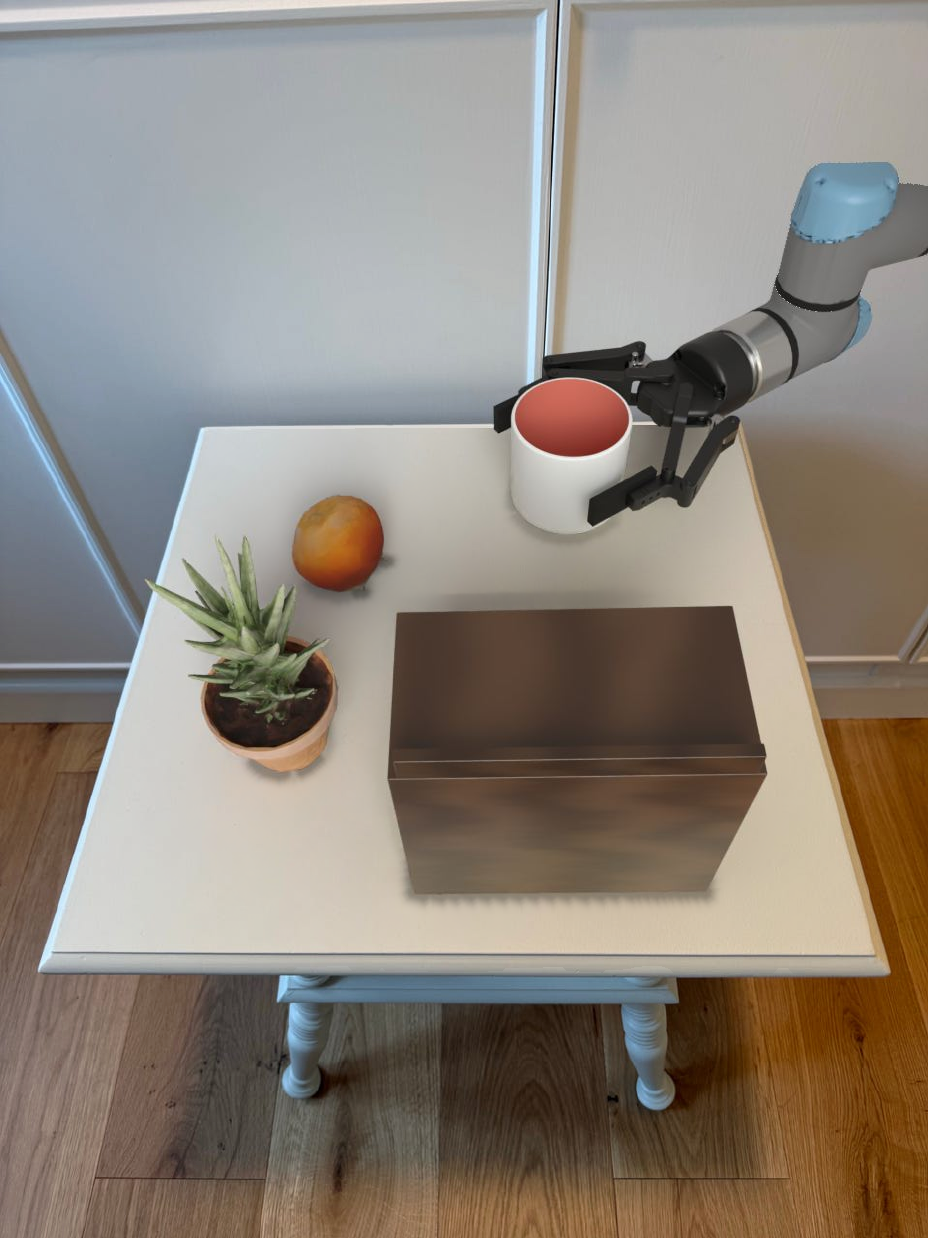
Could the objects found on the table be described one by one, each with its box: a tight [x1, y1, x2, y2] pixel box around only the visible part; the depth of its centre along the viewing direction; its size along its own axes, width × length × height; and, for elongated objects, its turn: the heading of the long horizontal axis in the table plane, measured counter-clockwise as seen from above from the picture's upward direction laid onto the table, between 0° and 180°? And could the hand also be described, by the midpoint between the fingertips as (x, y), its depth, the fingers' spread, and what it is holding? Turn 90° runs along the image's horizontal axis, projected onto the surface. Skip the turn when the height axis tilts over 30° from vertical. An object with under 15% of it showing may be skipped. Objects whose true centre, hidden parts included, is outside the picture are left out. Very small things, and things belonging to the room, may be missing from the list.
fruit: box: [291, 494, 389, 593], centre depth 78 cm, size 8×8×8 cm
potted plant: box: [143, 533, 339, 773], centre depth 61 cm, size 10×10×25 cm
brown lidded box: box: [386, 605, 768, 895], centre depth 58 cm, size 20×11×20 cm, turn 90°
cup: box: [510, 378, 634, 535], centre depth 80 cm, size 10×10×10 cm
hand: (540, 464), depth 79 cm, fingers open, 13 cm apart
